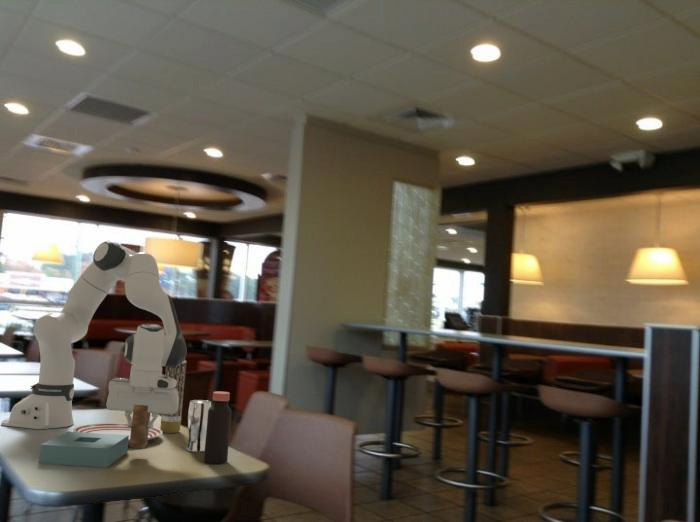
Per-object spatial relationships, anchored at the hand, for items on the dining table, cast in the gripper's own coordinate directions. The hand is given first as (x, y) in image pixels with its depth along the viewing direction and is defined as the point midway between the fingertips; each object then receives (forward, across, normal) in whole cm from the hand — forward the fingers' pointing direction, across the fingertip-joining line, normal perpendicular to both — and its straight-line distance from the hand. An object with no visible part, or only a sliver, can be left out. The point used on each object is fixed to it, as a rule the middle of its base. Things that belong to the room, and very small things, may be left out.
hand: (140, 427), depth 179 cm
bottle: (+8, +23, 0) cm, 24 cm away
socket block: (+9, -13, -4) cm, 16 cm away
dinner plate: (+9, -12, +22) cm, 27 cm away
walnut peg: (+5, 0, 0) cm, 5 cm away
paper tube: (+9, 0, +38) cm, 39 cm away
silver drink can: (+8, +14, +13) cm, 21 cm away
